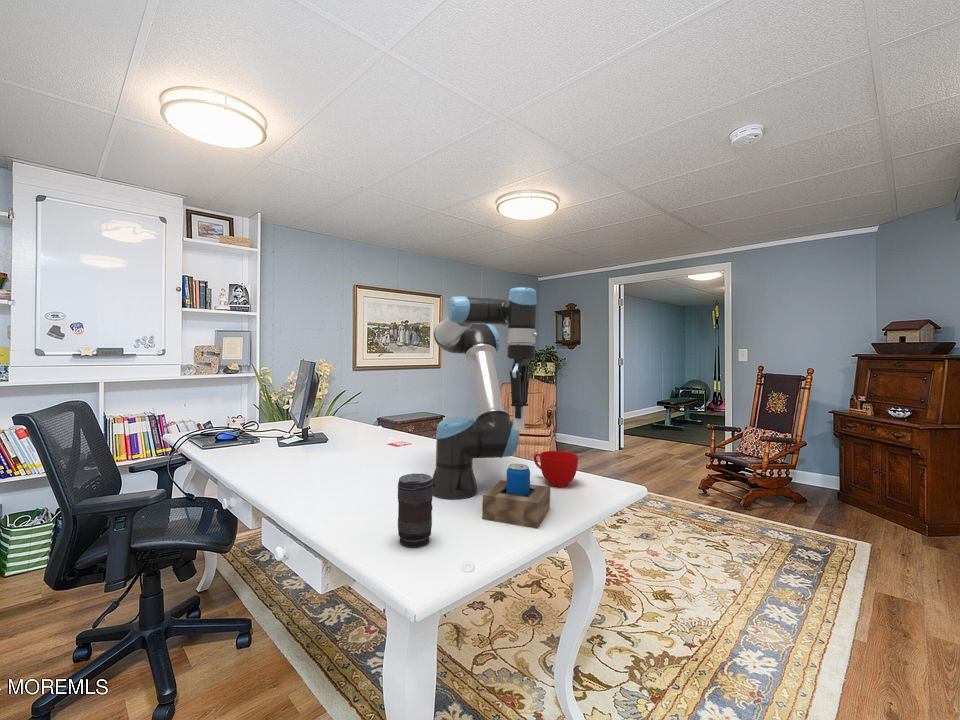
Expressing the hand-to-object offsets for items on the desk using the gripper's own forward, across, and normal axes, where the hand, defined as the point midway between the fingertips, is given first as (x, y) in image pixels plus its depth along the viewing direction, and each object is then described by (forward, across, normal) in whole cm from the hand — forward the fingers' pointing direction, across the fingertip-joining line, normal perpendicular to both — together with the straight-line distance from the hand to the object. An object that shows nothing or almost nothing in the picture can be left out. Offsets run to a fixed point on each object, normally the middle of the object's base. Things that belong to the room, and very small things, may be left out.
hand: (518, 429), depth 121 cm
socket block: (+23, 0, 0) cm, 23 cm away
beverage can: (+22, 0, 0) cm, 22 cm away
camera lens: (+24, -27, +17) cm, 40 cm away
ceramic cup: (+24, +34, -3) cm, 41 cm away
